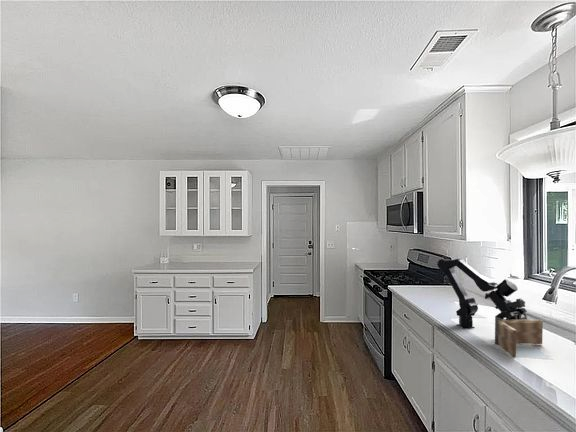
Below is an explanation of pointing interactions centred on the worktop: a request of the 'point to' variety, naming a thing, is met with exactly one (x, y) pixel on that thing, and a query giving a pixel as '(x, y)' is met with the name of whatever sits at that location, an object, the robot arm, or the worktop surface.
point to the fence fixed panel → (505, 336)
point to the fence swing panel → (526, 330)
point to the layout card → (526, 351)
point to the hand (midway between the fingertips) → (524, 330)
